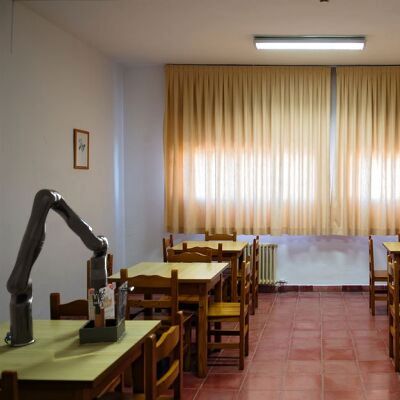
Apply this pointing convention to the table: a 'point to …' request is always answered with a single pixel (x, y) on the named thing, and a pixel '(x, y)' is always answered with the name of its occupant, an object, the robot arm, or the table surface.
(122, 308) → the lid
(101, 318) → the bottle
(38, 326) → the table surface
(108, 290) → the cracker box
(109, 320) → the warmer
